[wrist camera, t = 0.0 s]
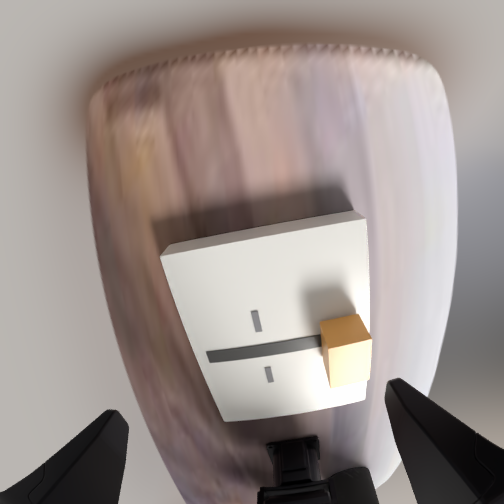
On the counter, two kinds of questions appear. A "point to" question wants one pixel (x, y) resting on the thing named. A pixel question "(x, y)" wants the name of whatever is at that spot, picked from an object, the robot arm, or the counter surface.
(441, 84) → the counter surface
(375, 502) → the travel mug
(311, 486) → the robot arm
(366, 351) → the fader knob
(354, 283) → the fader console
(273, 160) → the counter surface
